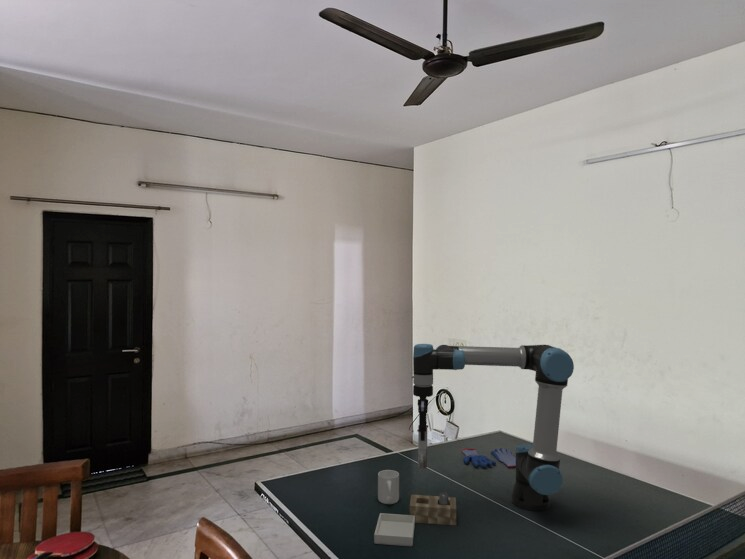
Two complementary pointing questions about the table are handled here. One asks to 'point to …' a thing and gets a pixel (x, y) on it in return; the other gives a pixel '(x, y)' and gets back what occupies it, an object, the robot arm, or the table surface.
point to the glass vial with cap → (422, 453)
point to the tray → (395, 529)
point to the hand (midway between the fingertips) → (422, 446)
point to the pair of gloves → (484, 461)
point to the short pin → (443, 498)
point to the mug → (388, 486)
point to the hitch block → (433, 510)
